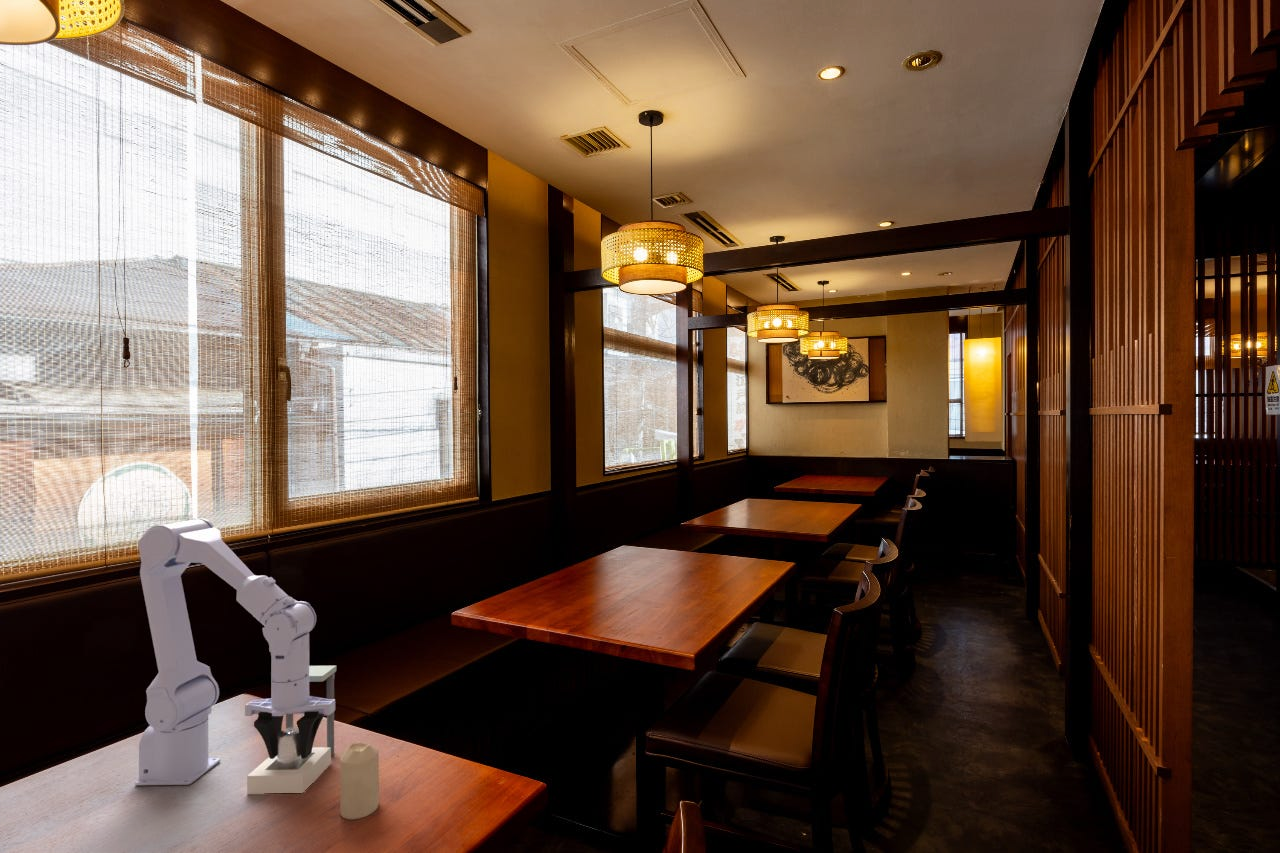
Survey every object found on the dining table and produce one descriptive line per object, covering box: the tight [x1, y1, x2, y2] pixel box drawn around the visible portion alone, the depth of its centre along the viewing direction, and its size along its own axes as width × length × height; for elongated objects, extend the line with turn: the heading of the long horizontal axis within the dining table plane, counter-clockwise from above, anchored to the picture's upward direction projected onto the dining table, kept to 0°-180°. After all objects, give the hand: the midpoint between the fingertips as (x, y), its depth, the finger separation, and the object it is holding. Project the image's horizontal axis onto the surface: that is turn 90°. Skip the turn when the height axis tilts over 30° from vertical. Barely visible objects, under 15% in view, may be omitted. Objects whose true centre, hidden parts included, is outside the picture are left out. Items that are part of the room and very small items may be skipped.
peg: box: [277, 726, 304, 770], centre depth 107 cm, size 4×4×8 cm
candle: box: [339, 742, 380, 820], centre depth 98 cm, size 6×6×10 cm
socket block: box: [246, 746, 332, 795], centre depth 107 cm, size 9×9×3 cm
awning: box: [285, 665, 337, 756], centre depth 113 cm, size 9×5×16 cm, turn 90°
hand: (290, 755), depth 107 cm, fingers open, 5 cm apart
